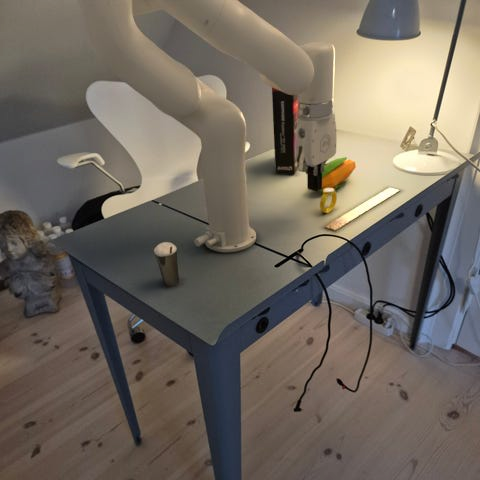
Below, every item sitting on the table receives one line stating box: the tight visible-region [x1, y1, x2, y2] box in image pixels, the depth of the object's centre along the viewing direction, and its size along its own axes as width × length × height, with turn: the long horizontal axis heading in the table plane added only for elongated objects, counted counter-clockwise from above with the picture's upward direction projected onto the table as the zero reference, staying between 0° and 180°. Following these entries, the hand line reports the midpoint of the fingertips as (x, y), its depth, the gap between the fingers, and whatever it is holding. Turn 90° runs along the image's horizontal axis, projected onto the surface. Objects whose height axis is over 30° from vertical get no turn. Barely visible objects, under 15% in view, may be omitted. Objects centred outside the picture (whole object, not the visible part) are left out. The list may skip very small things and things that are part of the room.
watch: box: [319, 188, 338, 214], centre depth 116 cm, size 6×3×6 cm, turn 139°
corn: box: [318, 157, 357, 194], centre depth 129 cm, size 7×8×20 cm
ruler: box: [324, 187, 401, 232], centre depth 118 cm, size 30×3×1 cm, turn 135°
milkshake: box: [153, 241, 180, 288], centre depth 93 cm, size 4×5×10 cm
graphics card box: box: [271, 87, 299, 175], centre depth 138 cm, size 17×7×27 cm, turn 162°
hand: (314, 188), depth 110 cm, fingers closed
